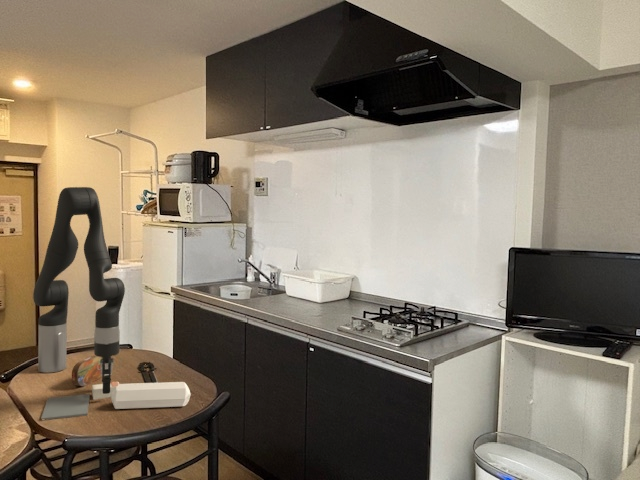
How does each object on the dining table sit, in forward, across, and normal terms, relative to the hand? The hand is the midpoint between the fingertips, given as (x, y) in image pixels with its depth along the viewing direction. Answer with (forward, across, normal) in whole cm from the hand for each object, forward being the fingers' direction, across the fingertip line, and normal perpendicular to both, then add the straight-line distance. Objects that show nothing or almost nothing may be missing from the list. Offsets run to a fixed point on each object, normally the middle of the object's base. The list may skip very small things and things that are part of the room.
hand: (106, 388), depth 161 cm
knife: (+3, -18, +14) cm, 23 cm away
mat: (+2, +7, -11) cm, 13 cm away
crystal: (+3, +12, +13) cm, 18 cm away
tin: (+3, -15, -6) cm, 17 cm away
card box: (+3, 0, 0) cm, 3 cm away
